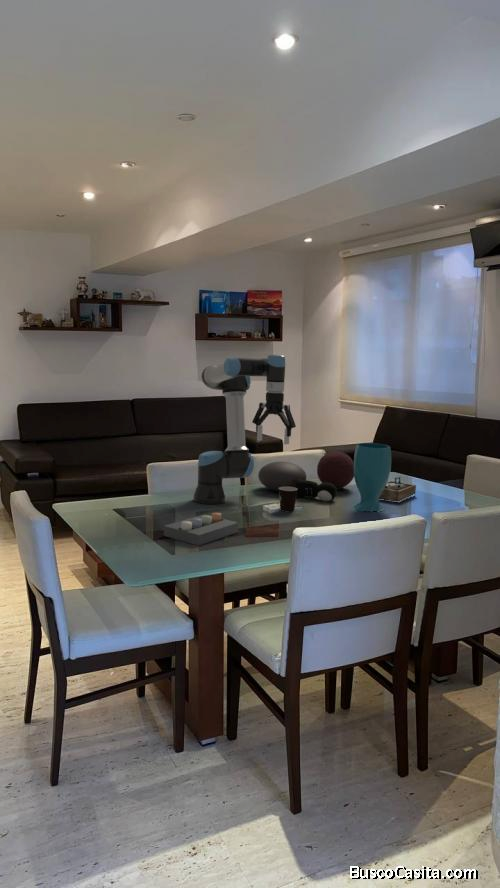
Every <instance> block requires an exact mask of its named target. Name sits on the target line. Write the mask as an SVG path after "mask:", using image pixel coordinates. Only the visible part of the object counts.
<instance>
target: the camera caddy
mask: <svg viewBox="0 0 500 888" xmlns="http://www.w3.org/2000/svg"><path fill="white" fill-rule="evenodd" d="M388 483H395V480H394V481H393V480H388V482H387V484H388ZM404 483H405V482H404ZM405 484H406V488H404V489H402V490H399V491H396V490H390V489H384V490H383V492H382V494H381V495H380V497H379V499H384V500H391V501H400V500H402V499H404V498H406V497H409V496H411V495H413V494H415V495H416V492H417V491H416V490H417V485H416V484H413V483H412V484H411V483H405Z"/></svg>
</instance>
